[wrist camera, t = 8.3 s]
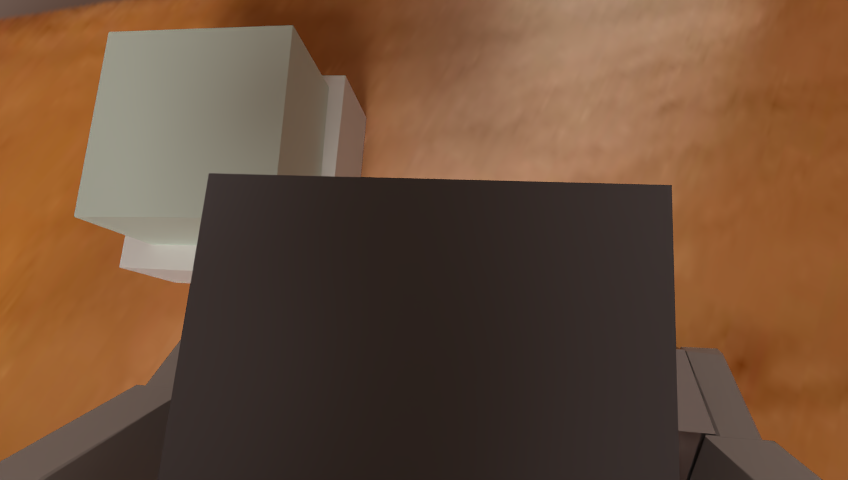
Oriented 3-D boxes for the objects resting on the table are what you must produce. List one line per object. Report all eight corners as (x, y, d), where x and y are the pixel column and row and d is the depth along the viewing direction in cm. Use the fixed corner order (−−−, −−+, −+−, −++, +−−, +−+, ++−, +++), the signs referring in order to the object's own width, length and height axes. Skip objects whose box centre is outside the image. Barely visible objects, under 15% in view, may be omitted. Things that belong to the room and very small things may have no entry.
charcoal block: (570, 291, 13) (670, 185, 5) (566, 514, 12) (687, 774, 4) (368, 280, 14) (208, 173, 6) (349, 490, 13) (124, 676, 5)
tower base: (367, 120, 32) (345, 75, 27) (351, 292, 29) (323, 277, 24) (205, 118, 33) (156, 75, 28) (177, 283, 31) (119, 267, 26)
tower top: (328, 87, 27) (292, 25, 22) (315, 247, 25) (272, 218, 20) (175, 90, 28) (108, 32, 23) (151, 244, 26) (73, 216, 21)
